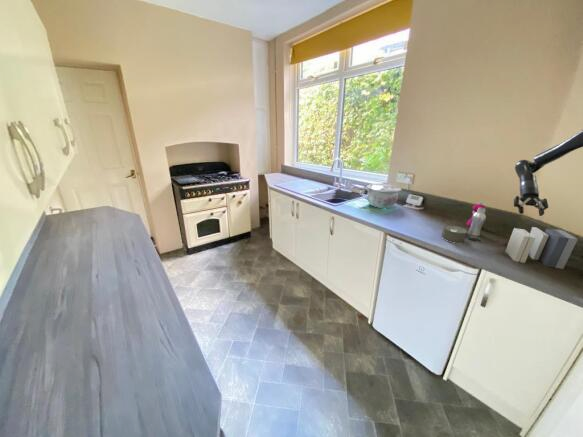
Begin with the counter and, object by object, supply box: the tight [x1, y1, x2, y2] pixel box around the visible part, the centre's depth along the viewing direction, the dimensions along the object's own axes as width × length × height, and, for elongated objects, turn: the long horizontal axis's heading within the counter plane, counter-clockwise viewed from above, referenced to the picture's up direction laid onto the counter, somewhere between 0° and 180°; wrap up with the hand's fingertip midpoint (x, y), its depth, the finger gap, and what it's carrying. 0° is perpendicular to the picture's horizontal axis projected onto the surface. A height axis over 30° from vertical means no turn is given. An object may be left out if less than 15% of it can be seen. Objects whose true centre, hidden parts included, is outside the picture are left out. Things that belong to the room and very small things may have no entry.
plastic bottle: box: [466, 207, 487, 242], centre depth 139 cm, size 6×7×20 cm
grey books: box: [537, 228, 578, 270], centre depth 116 cm, size 6×11×16 cm, turn 158°
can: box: [441, 224, 468, 244], centre depth 141 cm, size 12×12×7 cm
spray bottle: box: [466, 201, 486, 227], centre depth 151 cm, size 7×7×20 cm
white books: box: [504, 227, 535, 264], centre depth 121 cm, size 4×11×14 cm, turn 159°
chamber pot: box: [360, 182, 402, 209], centre depth 198 cm, size 28×28×21 cm
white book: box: [528, 226, 549, 261], centre depth 123 cm, size 2×11×14 cm, turn 158°
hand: (531, 214), depth 131 cm, fingers open, 8 cm apart
